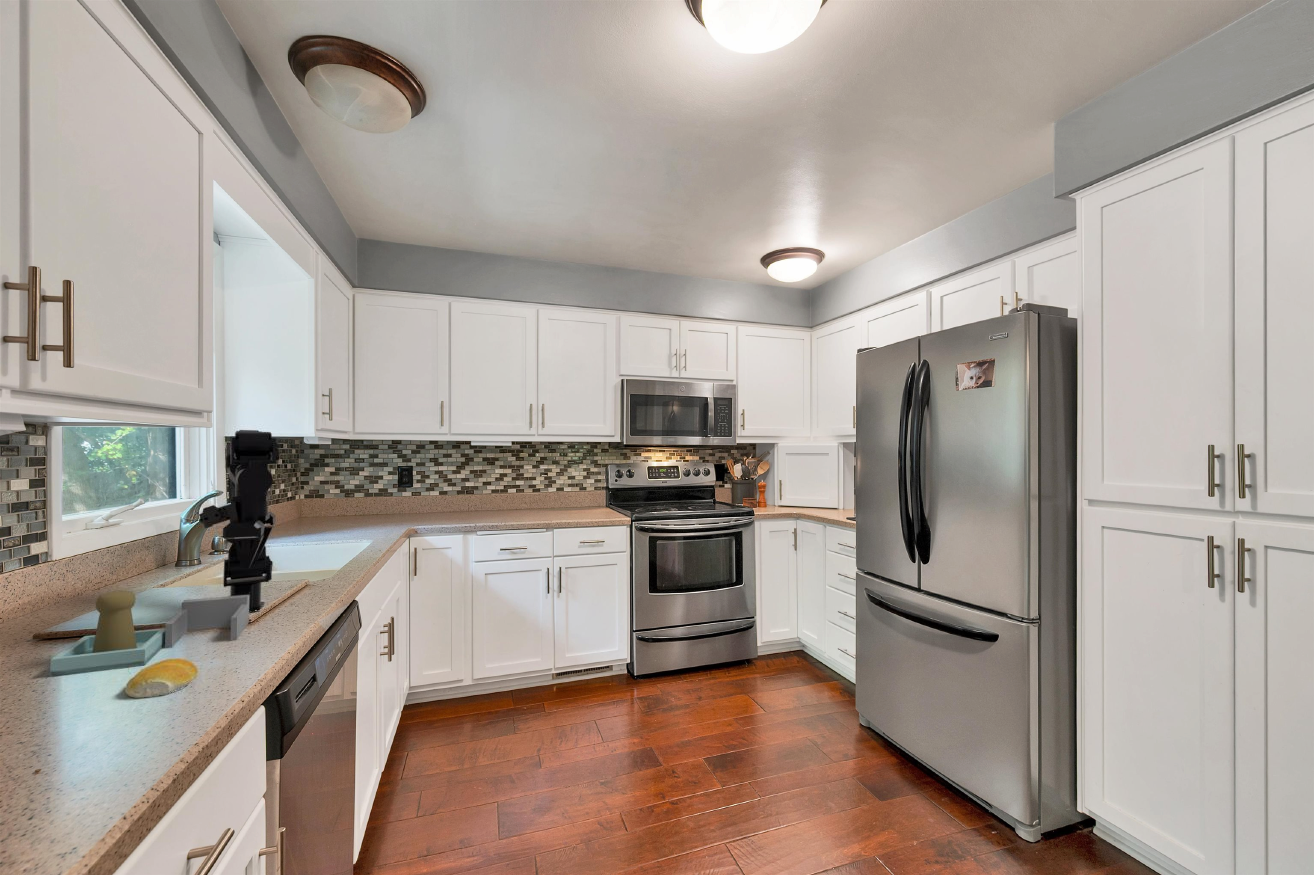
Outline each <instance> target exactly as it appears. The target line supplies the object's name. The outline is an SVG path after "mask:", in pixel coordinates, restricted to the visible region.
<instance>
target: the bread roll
mask: <svg viewBox="0 0 1314 875" xmlns="http://www.w3.org/2000/svg"><path fill="white" fill-rule="evenodd" d="M198 673H199V669H198V668H197V665H195V663H194V662H192V661H190V660H188V659H185V658H169V659H163V660H160V661H158V662H155V663H153V664H150V665H149V666H146V667H144V668H142V669H141V670H139V671H138V672H136V674H135V675H134V676H133V677H131V678H130V679H129V680H128V681H127V683H126V685H125V690H124V691H125V694H126V695H127V696H129V697H131V698H133V699H141V698H143V699H144V697H145V698H153V697H152V696H156V697H160V696H159V695H162V696H165V695H164V694H166V695H168V694H167V693H170V694H172V693H171V692H173V691H175V690H178V689H180V690H182V689H181V688H182V687H184V688H186V687H187V686H189V684H190V683H191V682H192V680H193V681H194V679H195V678H196V677H197V676H198ZM186 685H187V686H186ZM185 686H186V687H185ZM178 691H179V690H178ZM175 692H176V691H175ZM173 693H174V692H173Z"/></svg>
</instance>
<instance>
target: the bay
mask: <svg viewBox="0 0 1314 875" xmlns="http://www.w3.org/2000/svg"><path fill="white" fill-rule="evenodd" d="M249 623H250V612H249V595H239V596H230V595H229V596H228V595H227V596H219V597H205V598H194V599H193V598H192V599H185V600H183V601H182V602H181V610H179V611H178V613H176V614H175V615H174V616H173V617H172V618H171V619H169V620H168V622H166V623H165V628H166V630H165V646H164V649H169V648H173V647H174V646H175V645H176V644H177V643H178V642H179V641H180V640H181V639H182V637H184V635H185V634H186V633H187V632H194V631H195V632H197V631H204V630H215V629H223V628H230V641H231V642H233V641H238V639H239V637H240V636H241V634H242V633H243V632H244V630H245V629H246V627H247V626H248V624H249Z"/></svg>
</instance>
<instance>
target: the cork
mask: <svg viewBox="0 0 1314 875" xmlns="http://www.w3.org/2000/svg"><path fill="white" fill-rule="evenodd" d="M136 599H137V598H136V595H135V593H134V592H133V591H130V590H114V591H109V592H106V593H102V594H101V595H99V596H98V597H97V599H96V601H95V609H96V611H97V612H98V613H99V615H98V621H97V626H96V631H95V634H94V635H95V640H94V645H93V650H92V653H99V652H108V651H117V650H127V649H136V648H137V644H136V638H135V631H136V630H135V626H134V619H133V613H132V608H133V607H134V606H135V603H136Z"/></svg>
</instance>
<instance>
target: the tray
mask: <svg viewBox="0 0 1314 875" xmlns="http://www.w3.org/2000/svg"><path fill="white" fill-rule="evenodd" d="M165 630H166V627H162V628H153V629H143V630H134V631H135V638H136V644H137V648H136V649H127V650H117V651H108V652H99V653H92V650H93V645H94V640H95V635H96V634H93V635H91V634H90V635H84V636H83V637H82V638H79V640H77V641H75V642H74V643H73V644H71V645H70V646H68V647H67V648H65V649H64V650H63V651H61V652H60V653H58V654H57V655H55V656H54V657H53V658H52V657H51V659H50V677H58V676H66V675H75V674H84V673H91V672H100V671H101V672H102V671H108V670H109V671H110V670H116V669H124V668H133V667H141V666H146V665H147V663H149V662H150V661H151V660H152V659H153V658H154V657H155V656H156V655H157V654H158V652H160V651H161V650H162V649H163V648H165Z"/></svg>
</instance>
